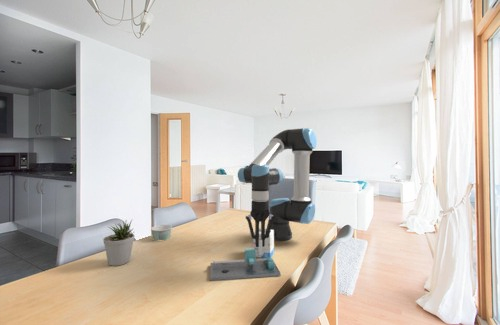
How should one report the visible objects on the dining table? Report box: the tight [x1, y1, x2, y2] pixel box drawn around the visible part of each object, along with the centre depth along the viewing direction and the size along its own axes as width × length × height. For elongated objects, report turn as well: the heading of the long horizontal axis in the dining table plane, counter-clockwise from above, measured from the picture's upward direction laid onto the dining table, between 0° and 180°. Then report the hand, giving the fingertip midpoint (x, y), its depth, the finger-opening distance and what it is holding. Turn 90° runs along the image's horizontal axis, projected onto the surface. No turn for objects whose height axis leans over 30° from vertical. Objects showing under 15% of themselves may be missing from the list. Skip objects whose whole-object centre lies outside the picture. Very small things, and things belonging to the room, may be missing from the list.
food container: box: [150, 224, 173, 241], centre depth 147 cm, size 12×12×6 cm
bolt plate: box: [209, 257, 282, 282], centre depth 105 cm, size 28×14×4 cm, turn 99°
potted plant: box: [102, 219, 135, 267], centre depth 113 cm, size 13×14×20 cm
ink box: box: [252, 227, 275, 259], centre depth 123 cm, size 9×8×13 cm
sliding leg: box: [244, 247, 256, 269], centre depth 106 cm, size 4×8×6 cm, turn 8°
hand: (259, 253), depth 109 cm, fingers closed
